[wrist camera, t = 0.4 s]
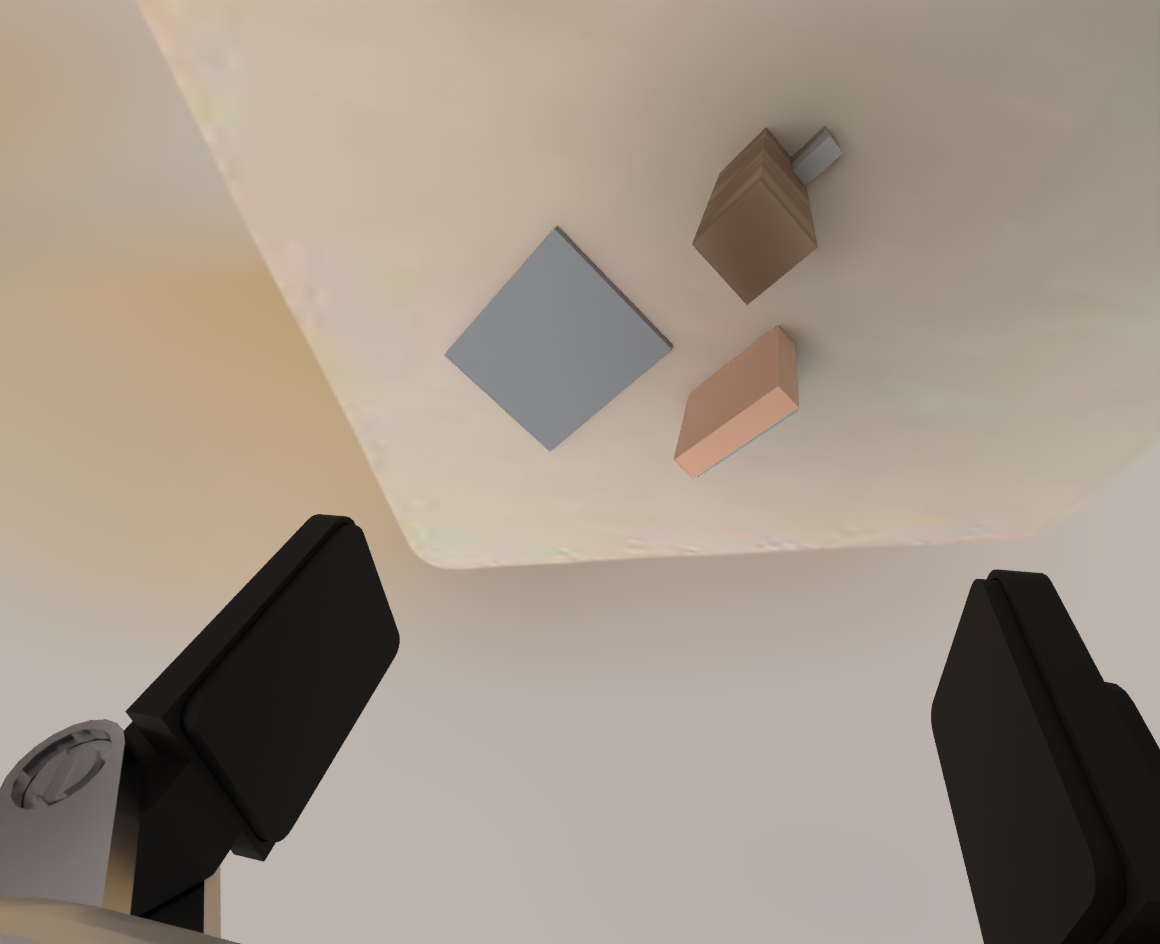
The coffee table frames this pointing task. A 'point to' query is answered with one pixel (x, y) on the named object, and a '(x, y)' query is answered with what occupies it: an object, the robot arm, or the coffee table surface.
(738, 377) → the tile
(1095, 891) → the robot arm
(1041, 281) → the coffee table surface
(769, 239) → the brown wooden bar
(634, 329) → the mat
